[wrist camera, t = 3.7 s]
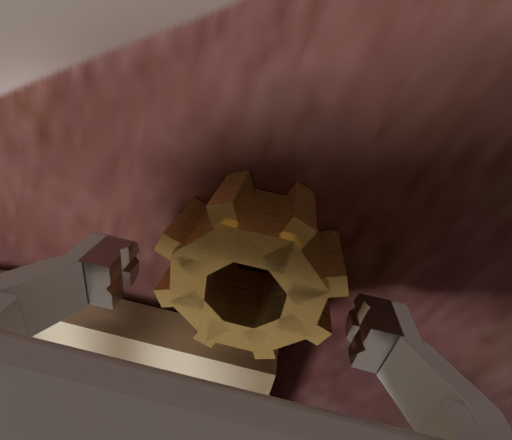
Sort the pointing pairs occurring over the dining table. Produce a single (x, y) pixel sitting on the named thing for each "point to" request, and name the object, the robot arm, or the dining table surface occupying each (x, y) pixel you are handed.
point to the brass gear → (256, 255)
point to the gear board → (160, 344)
